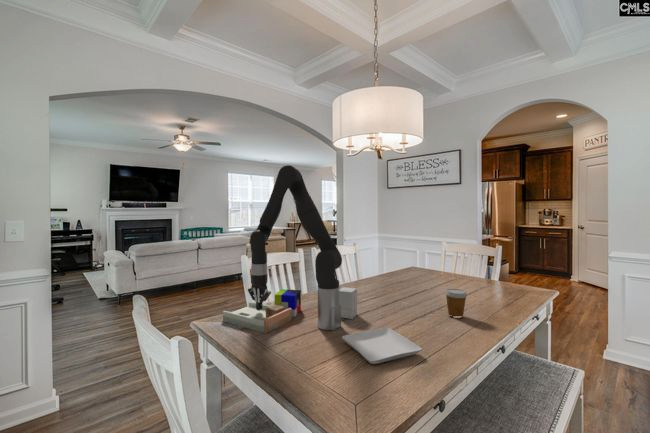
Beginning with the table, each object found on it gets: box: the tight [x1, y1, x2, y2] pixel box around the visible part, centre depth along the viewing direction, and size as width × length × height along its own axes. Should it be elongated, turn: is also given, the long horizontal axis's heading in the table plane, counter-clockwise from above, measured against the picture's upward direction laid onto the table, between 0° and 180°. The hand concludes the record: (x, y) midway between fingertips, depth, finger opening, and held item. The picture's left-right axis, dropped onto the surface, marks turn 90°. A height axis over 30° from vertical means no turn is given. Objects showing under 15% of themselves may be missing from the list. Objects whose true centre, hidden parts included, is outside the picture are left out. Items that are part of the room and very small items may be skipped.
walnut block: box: [266, 304, 285, 318], centre depth 137 cm, size 6×6×4 cm
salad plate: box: [341, 326, 422, 365], centre depth 110 cm, size 21×21×3 cm
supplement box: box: [339, 286, 358, 320], centre depth 145 cm, size 7×7×13 cm
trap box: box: [222, 301, 293, 334], centre depth 139 cm, size 26×17×6 cm, turn 59°
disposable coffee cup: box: [445, 288, 468, 317], centre depth 144 cm, size 10×10×12 cm
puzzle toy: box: [274, 288, 302, 318], centre depth 150 cm, size 10×10×10 cm
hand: (259, 309), depth 142 cm, fingers closed
